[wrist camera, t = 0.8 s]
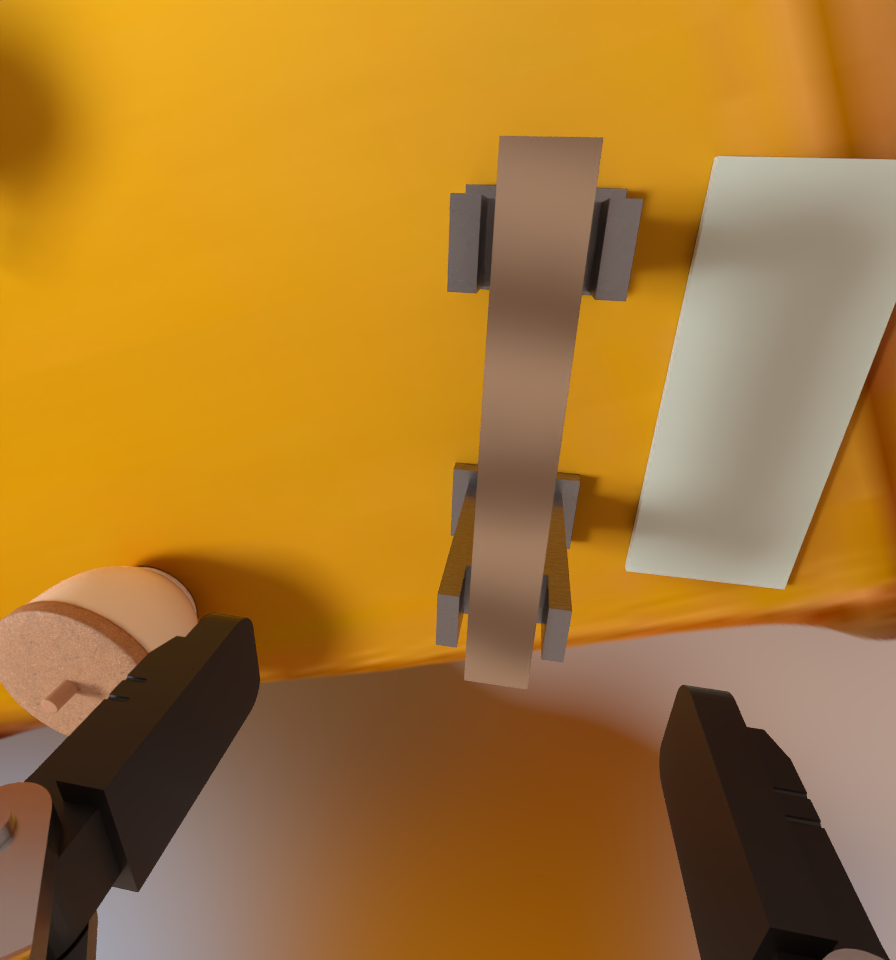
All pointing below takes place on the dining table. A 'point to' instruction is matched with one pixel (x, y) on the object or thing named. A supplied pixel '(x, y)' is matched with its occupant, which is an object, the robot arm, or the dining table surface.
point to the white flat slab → (766, 364)
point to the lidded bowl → (88, 639)
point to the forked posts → (604, 282)
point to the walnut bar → (525, 389)
